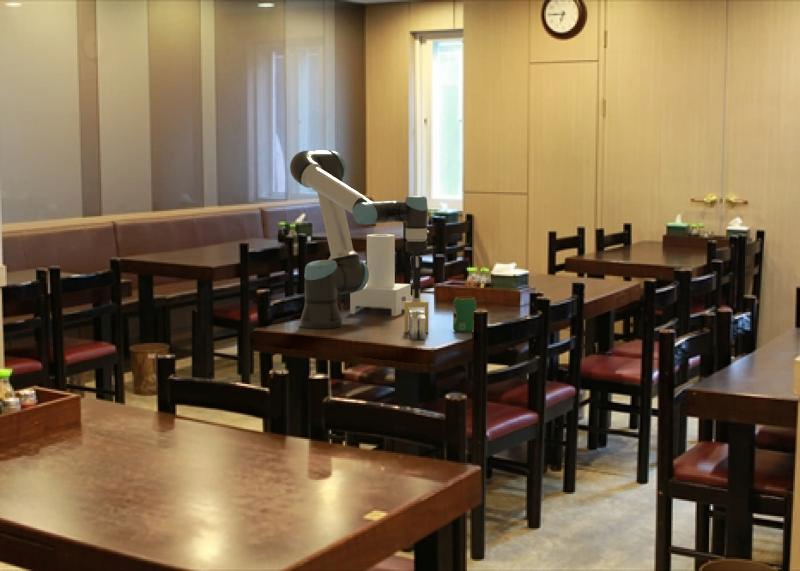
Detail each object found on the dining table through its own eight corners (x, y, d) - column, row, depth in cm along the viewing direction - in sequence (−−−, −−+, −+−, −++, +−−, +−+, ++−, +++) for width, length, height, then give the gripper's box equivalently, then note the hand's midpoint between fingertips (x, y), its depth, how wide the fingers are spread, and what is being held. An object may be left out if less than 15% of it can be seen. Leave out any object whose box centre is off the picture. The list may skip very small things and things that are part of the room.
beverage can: (451, 329, 407) (452, 296, 405) (474, 329, 407) (474, 296, 406) (454, 333, 399) (454, 299, 397) (477, 333, 399) (477, 299, 398)
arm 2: (416, 330, 404) (416, 310, 403) (423, 330, 404) (423, 310, 403) (418, 339, 386) (418, 319, 385) (425, 339, 386) (425, 319, 385)
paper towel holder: (350, 313, 444) (349, 236, 440) (365, 306, 462) (365, 232, 458) (396, 316, 438) (396, 238, 434) (410, 309, 456) (410, 233, 452)
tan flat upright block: (404, 331, 402) (404, 301, 401) (427, 330, 403) (428, 301, 401) (404, 332, 400) (404, 302, 398) (428, 332, 400) (428, 302, 399)
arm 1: (409, 330, 404) (409, 310, 403) (415, 330, 404) (415, 310, 403) (411, 339, 386) (411, 319, 385) (418, 339, 386) (418, 319, 385)
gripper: (428, 241, 393) (428, 309, 396) (426, 238, 406) (426, 304, 409) (406, 242, 392) (406, 310, 396) (405, 238, 405) (405, 304, 408)
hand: (416, 307), depth 402 cm, fingers closed
